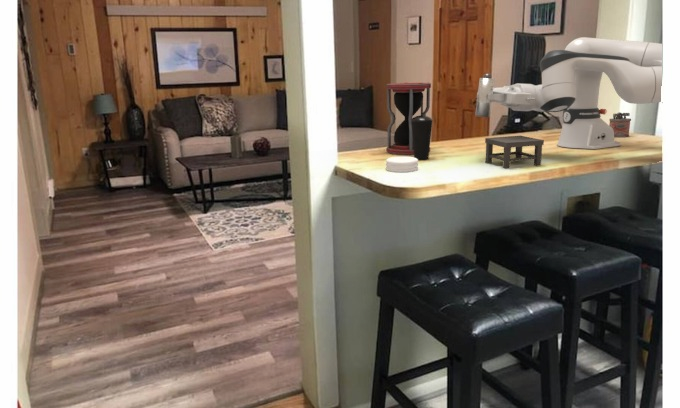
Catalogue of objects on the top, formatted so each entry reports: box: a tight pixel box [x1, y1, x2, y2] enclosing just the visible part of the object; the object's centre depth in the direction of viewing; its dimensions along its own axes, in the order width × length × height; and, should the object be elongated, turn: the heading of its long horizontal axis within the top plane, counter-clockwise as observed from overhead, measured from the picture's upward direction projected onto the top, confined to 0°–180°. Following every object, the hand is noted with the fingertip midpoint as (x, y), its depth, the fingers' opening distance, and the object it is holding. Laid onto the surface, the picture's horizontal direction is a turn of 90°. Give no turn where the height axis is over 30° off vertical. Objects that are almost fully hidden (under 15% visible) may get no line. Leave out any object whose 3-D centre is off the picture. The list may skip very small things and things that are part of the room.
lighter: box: [608, 112, 632, 139], centre depth 214 cm, size 8×3×10 cm, turn 80°
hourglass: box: [386, 82, 432, 156], centre depth 192 cm, size 16×16×25 cm
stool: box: [484, 135, 545, 170], centre depth 165 cm, size 13×12×8 cm
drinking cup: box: [410, 99, 434, 161], centre depth 178 cm, size 8×8×20 cm
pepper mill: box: [475, 72, 495, 118], centre depth 168 cm, size 5×5×14 cm
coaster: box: [385, 155, 419, 173], centre depth 163 cm, size 10×10×4 cm
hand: (482, 95), depth 168 cm, fingers closed on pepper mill, 5 cm apart
